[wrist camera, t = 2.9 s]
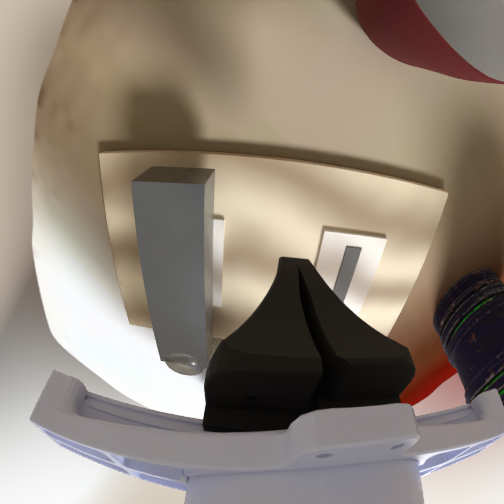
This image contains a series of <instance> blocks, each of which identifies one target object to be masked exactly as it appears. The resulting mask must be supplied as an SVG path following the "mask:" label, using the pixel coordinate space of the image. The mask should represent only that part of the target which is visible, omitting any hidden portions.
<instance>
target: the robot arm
mask: <svg viewBox="0 0 504 504" xmlns="http://www.w3.org/2000/svg"><path fill="white" fill-rule="evenodd" d="M415 371H416V370H415V366H414V363H413V360H412V357H411V355H410V352H409V350H408V348H407V347H405V346H403V345H401V344H399V343H397V342H396V341H394V340H392V339H390V338H388V337H386V336H385V335H383V334H382V333H380V332H379V331H377V330H376V329H374V328H373V327H371V326H370V325H369V324H367V323H366V322H365V321H363V320H362V319H361V318H360V317H358V316H357V315H356V314H355V313H354V312H353V311H352V310H351V309H349V308H348V307H347V306H346V305H345V304H344V303H343V302H342V301H341V300H340V299H339V297H338V296H337V295H336V294H335V293H334V292H333V291H332V290H331V288H330V287H329V286H328V285H327V283H326V282H325V281H324V279H323V278H322V277H321V275H320V274H319V273H318V271H317V270H316V268H315V267H314V266H313V264H312V263H311V262H310V260H309V259H303V258H293V257H283V256H282V257H280V258H279V261H278V268H277V274H276V276H275V278H274V281H273V283H272V285H271V287H270V289H269V291H268V292H267V294H266V296H265V297H264V299H263V300H262V302H261V303H260V305H259V306H258V307H257V308H256V310H255V311H254V312H253V313H252V315H251V316H250V317H249V318H248V319H247V320H246V321H245V322H244V323H243V324H242V325H241V326H240V327H239V328H238V329H237V330H235V331H234V332H233V333H232V334H230V335H229V336H228V337H226V338H225V339H224V340H222V341H221V343H220V344H219V346H218V348H217V349H216V351H215V353H214V355H213V357H212V359H211V361H210V363H209V365H208V368H207V371H206V377H205V383H204V391H205V401H206V406H205V412H204V418H203V420H202V419H196V418H190V417H184V416H179V415H174V414H169V413H164V412H159V411H155V410H150V409H146V408H142V407H138V406H134V405H130V404H127V403H123V402H120V401H116V400H113V399H110V398H106V397H103V396H100V395H97V394H94V393H91V392H88V391H87V389H86V387H85V386H84V384H83V383H82V382H81V381H79V380H78V379H76V378H74V377H72V376H69V375H66V374H64V373H61V372H59V371H56V370H53V372H52V374H51V376H50V378H49V379H48V381H47V383H46V386H45V388H44V389H43V391H42V393H41V395H40V398H39V400H38V402H37V404H36V406H35V408H34V410H33V413H32V415H31V417H30V421H31V422H32V423H33V424H34V425H35V426H37V427H38V428H39V429H40V430H41V431H42V432H43V433H45V434H46V435H47V436H48V437H50V438H51V439H52V440H53V441H54V442H56V443H57V444H58V445H60V446H62V447H64V448H66V449H68V450H70V451H72V452H74V453H76V454H79V455H81V456H83V457H85V458H88V459H90V460H92V461H94V462H97V463H99V464H102V465H104V466H107V467H109V468H112V469H114V470H117V471H119V472H122V473H125V474H128V475H131V476H133V477H137V478H139V479H142V480H146V481H149V482H152V483H156V484H159V485H163V486H167V487H170V488H174V489H178V490H183V491H186V497H185V503H184V504H424V498H423V491H422V485H421V479H420V477H422V476H424V475H427V474H430V473H433V472H435V471H438V470H440V469H443V468H445V467H448V466H450V465H452V464H455V463H457V462H459V461H461V460H464V459H466V458H468V457H471V456H473V455H475V454H477V453H479V452H481V451H482V450H484V449H485V448H486V447H488V446H489V445H491V444H492V443H493V442H495V441H496V440H498V439H499V438H500V437H502V436H503V435H504V406H503V404H502V401H501V399H500V396H499V394H498V391H497V389H492V390H489V391H486V392H483V393H481V394H479V395H478V396H477V397H476V398H475V399H474V400H473V401H472V402H471V403H470V404H467V405H463V406H459V407H456V408H452V409H448V410H444V411H440V412H435V413H431V414H426V415H421V416H415V413H414V409H413V408H412V406H411V405H409V404H401V401H400V397H399V395H400V394H401V392H402V391H403V390H404V389H405V388H406V387H407V386H408V384H409V383H410V382H411V380H412V379H413V377H414V375H415Z"/></svg>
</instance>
